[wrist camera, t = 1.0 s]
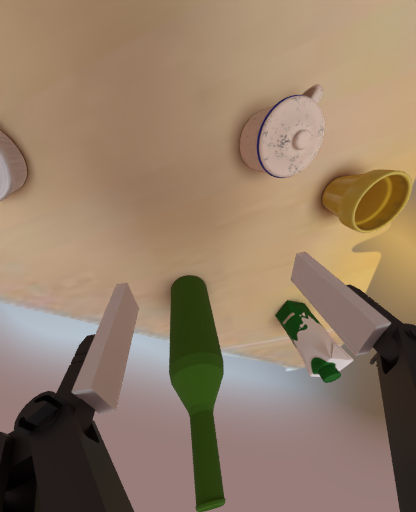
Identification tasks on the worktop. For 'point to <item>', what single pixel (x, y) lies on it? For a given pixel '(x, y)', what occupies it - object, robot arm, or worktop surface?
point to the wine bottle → (197, 381)
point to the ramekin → (10, 167)
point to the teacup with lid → (284, 135)
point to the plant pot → (368, 198)
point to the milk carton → (313, 342)
